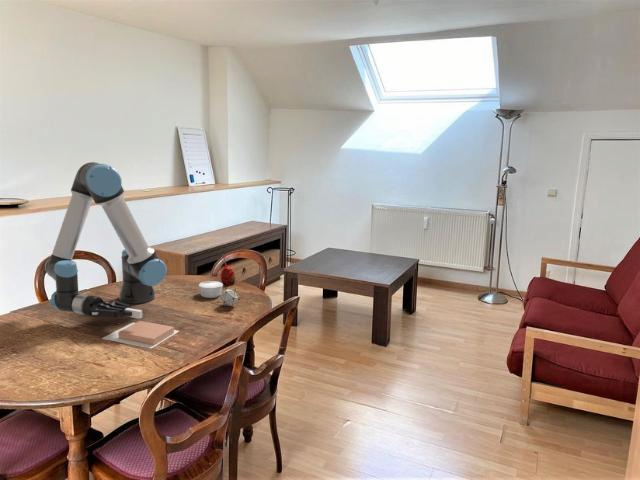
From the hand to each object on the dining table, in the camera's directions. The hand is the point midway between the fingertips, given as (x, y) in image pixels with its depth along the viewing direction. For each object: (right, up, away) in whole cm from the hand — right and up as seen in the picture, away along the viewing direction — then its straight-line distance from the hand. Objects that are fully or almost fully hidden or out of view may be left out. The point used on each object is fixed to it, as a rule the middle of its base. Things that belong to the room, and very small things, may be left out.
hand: (141, 314), depth 179 cm
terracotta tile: (-5, -6, +3) cm, 9 cm away
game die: (+25, -2, +37) cm, 45 cm away
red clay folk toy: (+19, +5, +69) cm, 72 cm away
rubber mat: (-1, -8, +2) cm, 9 cm away
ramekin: (+14, +1, +51) cm, 53 cm away
